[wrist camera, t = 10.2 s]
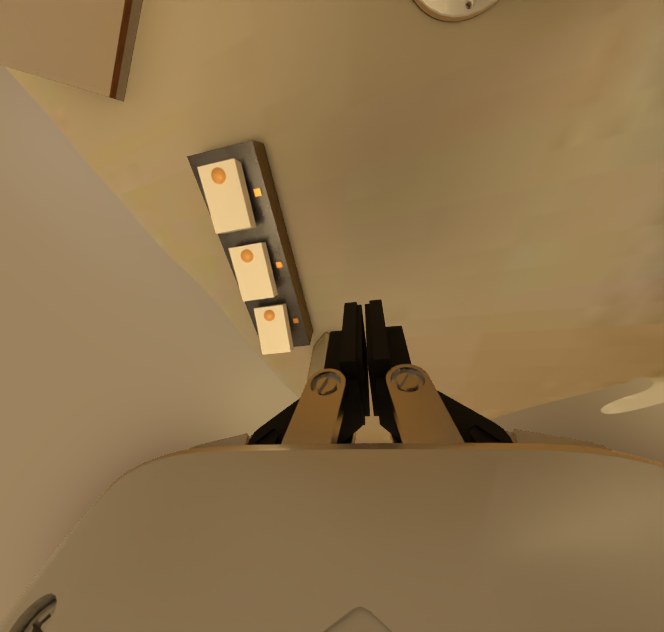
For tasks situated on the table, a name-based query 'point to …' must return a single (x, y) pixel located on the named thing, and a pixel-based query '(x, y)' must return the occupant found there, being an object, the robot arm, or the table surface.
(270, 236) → the power strip
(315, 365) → the skincare box
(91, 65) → the display case
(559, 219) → the table surface
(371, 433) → the table surface
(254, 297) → the cream flat rectangular block
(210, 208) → the rocker
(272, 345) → the rocker
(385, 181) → the table surface
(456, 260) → the table surface
